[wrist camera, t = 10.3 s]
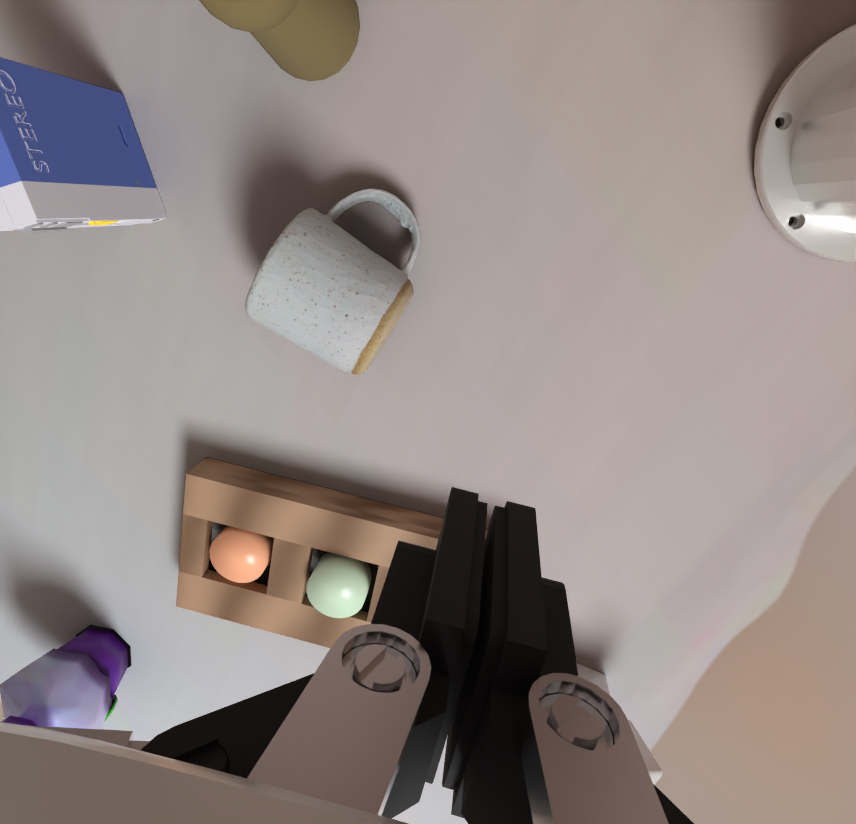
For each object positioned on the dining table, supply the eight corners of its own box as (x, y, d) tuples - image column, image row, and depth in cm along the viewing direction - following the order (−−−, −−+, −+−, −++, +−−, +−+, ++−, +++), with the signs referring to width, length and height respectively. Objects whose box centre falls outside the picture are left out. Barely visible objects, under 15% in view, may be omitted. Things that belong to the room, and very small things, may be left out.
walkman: (86, 105, 38) (-92, 63, 27) (123, 93, 37) (-42, 44, 26) (133, 229, 40) (-13, 238, 29) (168, 219, 40) (34, 224, 28)
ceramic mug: (374, 367, 41) (347, 399, 34) (273, 305, 41) (223, 324, 33) (454, 232, 38) (443, 236, 30) (344, 162, 37) (306, 149, 30)
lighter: (550, 670, 48) (558, 757, 40) (559, 655, 47) (569, 740, 40) (630, 704, 48) (652, 796, 40) (640, 689, 47) (665, 780, 40)
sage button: (376, 557, 44) (369, 576, 42) (366, 604, 46) (359, 624, 44) (320, 543, 45) (310, 560, 42) (312, 589, 46) (302, 609, 44)
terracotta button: (280, 524, 46) (268, 541, 43) (273, 571, 47) (261, 589, 45) (226, 510, 46) (211, 526, 44) (221, 557, 47) (207, 574, 45)
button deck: (522, 538, 44) (523, 561, 41) (483, 661, 48) (482, 689, 45) (205, 457, 45) (185, 473, 42) (194, 583, 49) (176, 606, 47)
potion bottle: (130, 702, 55) (33, 829, 44) (48, 658, 55) (-72, 775, 43) (161, 642, 52) (66, 761, 41) (74, 594, 52) (-46, 702, 40)
